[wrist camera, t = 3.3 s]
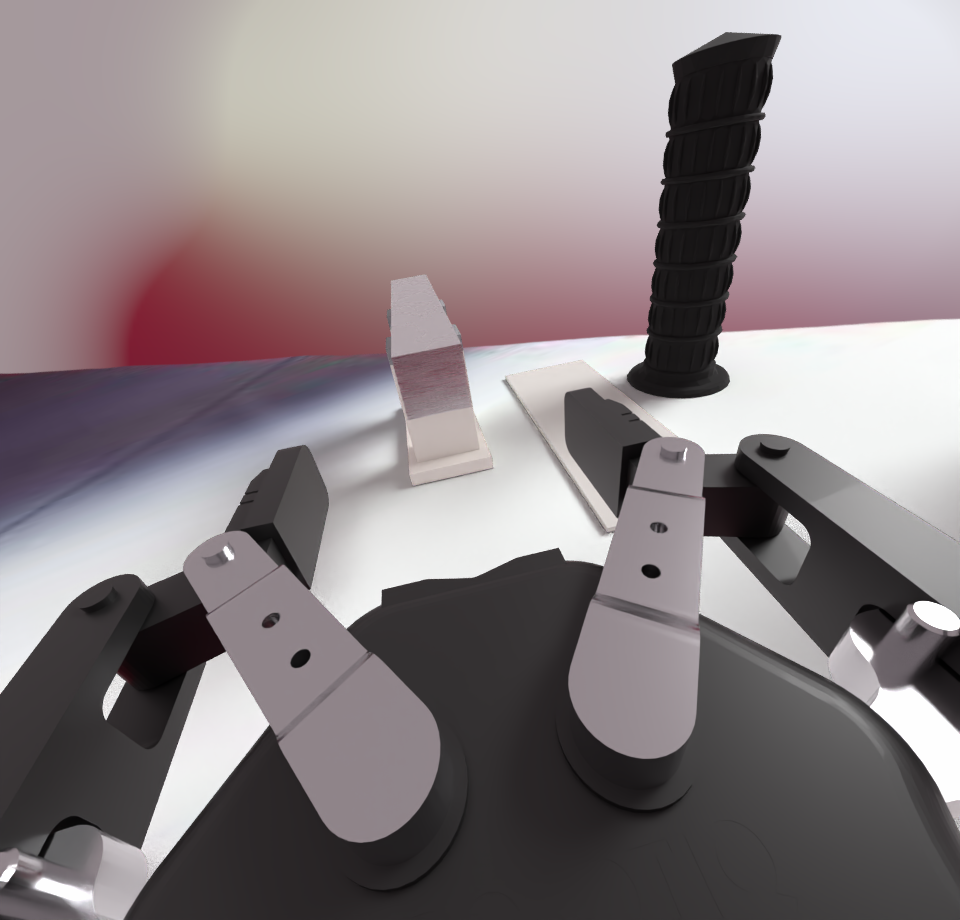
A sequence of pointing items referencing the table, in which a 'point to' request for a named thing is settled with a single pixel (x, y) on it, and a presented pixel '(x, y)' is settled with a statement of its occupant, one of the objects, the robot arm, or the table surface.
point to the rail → (425, 351)
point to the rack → (443, 438)
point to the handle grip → (703, 209)
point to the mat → (546, 409)
